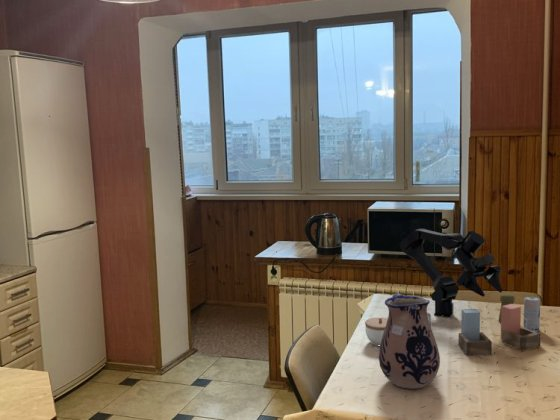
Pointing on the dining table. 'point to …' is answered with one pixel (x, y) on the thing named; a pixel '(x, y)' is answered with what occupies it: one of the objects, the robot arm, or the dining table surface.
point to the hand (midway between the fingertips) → (492, 293)
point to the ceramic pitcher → (408, 343)
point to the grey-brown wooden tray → (522, 339)
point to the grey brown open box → (475, 345)
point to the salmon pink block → (510, 318)
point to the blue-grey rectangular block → (471, 324)
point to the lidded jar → (375, 329)
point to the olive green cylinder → (506, 301)
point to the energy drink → (532, 313)
